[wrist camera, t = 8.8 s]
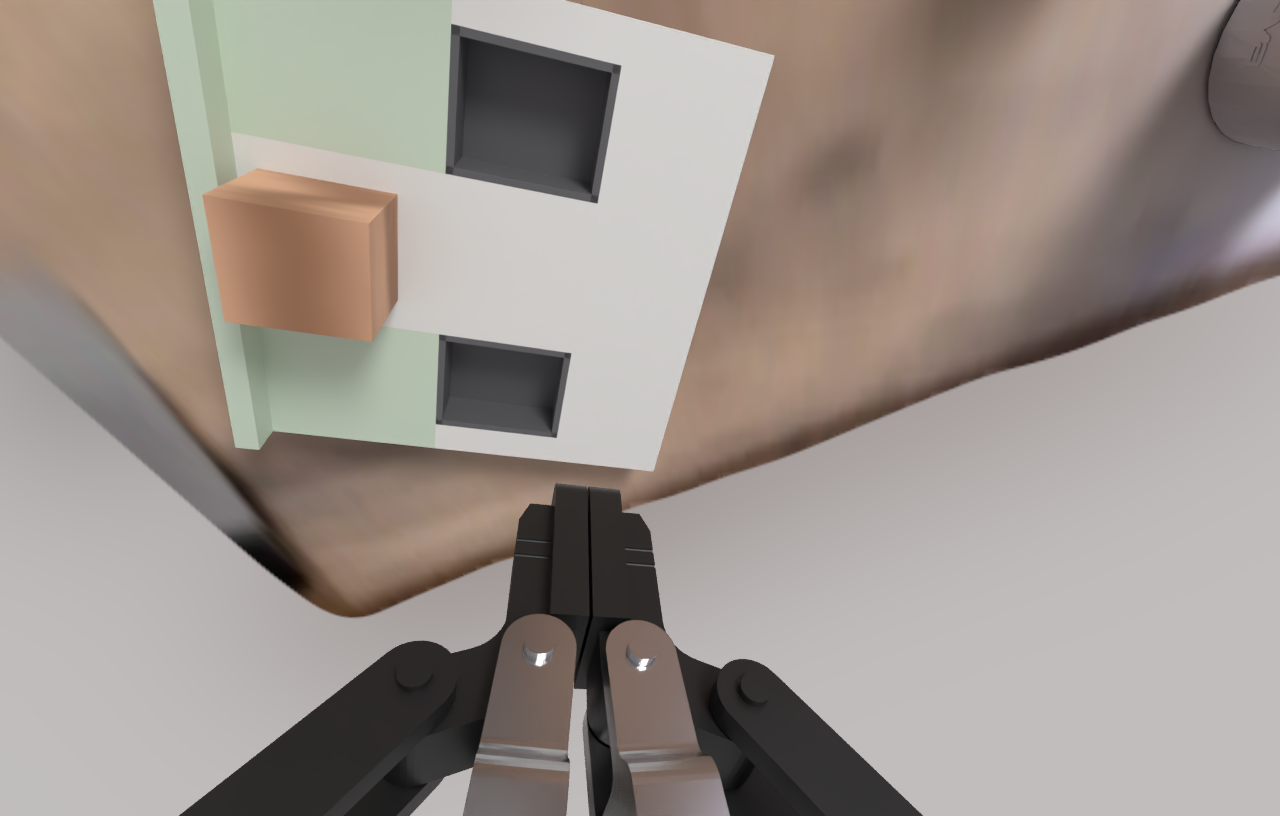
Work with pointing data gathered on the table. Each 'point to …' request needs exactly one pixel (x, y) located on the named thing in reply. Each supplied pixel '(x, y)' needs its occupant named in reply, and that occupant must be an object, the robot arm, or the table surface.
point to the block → (304, 254)
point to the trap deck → (476, 210)
